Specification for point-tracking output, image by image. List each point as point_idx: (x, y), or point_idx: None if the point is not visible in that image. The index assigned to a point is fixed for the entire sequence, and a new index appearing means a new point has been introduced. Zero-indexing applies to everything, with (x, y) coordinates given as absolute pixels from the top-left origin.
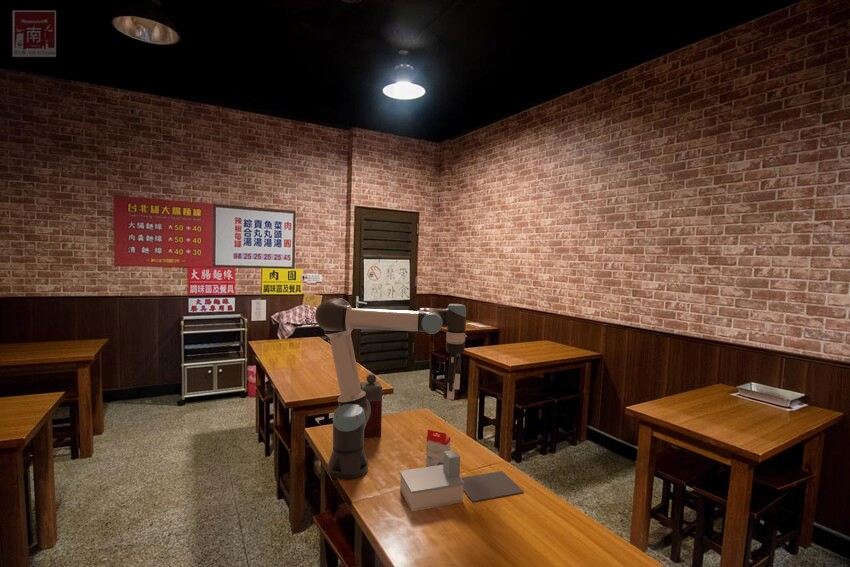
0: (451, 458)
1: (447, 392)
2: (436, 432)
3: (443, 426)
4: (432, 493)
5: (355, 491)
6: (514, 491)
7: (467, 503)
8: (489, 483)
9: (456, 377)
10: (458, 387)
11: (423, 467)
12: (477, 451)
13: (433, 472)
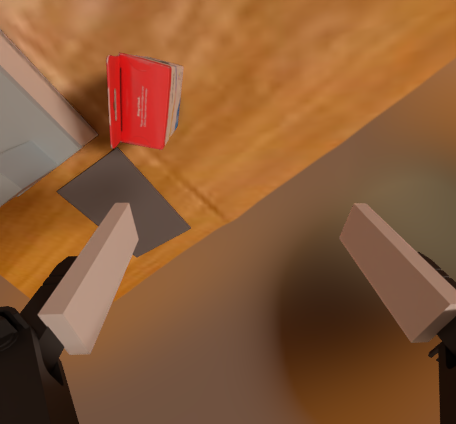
0: None
1: (95, 233)
2: (109, 105)
3: (438, 60)
4: None
5: None
6: None
7: (48, 183)
8: (134, 212)
9: (402, 291)
10: (347, 243)
11: (4, 76)
12: (267, 179)
13: (2, 115)
